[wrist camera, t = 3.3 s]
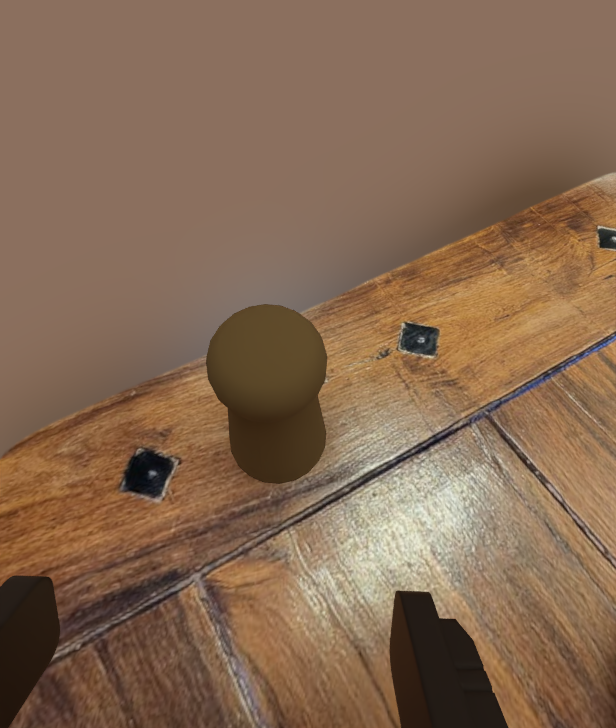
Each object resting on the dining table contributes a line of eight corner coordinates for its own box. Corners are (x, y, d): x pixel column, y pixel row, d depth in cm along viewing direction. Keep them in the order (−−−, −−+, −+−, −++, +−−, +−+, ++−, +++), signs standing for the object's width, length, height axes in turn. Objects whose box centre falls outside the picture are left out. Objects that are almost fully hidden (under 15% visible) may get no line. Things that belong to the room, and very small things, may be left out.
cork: (266, 375, 29) (248, 261, 19) (343, 421, 27) (367, 322, 17) (209, 448, 26) (155, 360, 16) (291, 503, 24) (284, 441, 15)
